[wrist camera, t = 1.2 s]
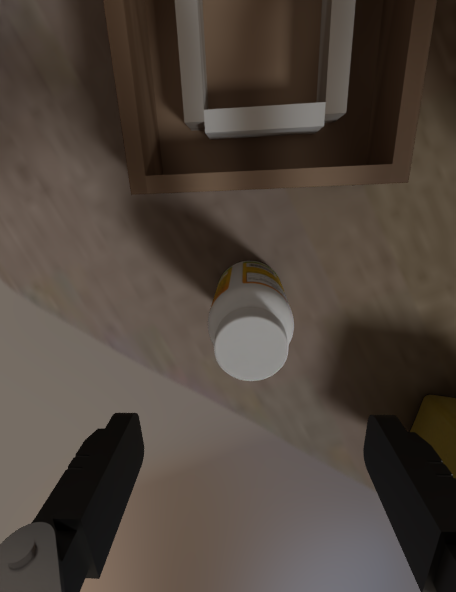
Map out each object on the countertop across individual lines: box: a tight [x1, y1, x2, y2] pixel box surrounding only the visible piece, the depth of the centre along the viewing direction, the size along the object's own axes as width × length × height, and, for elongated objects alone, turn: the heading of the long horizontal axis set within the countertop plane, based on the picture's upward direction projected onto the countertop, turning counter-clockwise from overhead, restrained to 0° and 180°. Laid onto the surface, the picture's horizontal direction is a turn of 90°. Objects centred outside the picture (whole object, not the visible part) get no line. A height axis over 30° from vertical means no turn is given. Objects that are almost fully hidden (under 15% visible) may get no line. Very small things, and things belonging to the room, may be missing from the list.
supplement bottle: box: [208, 261, 294, 381], centre depth 20 cm, size 5×5×10 cm
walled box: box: [103, 0, 437, 195], centre depth 17 cm, size 16×16×5 cm
